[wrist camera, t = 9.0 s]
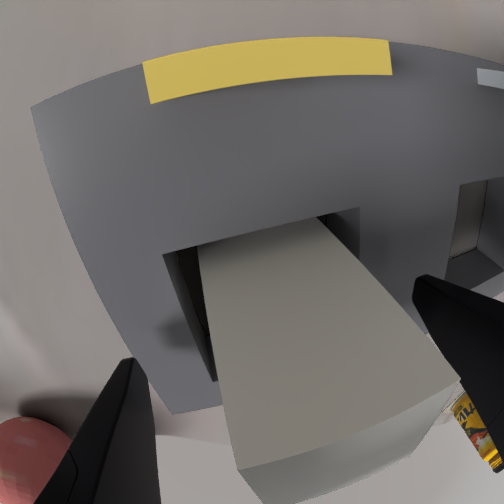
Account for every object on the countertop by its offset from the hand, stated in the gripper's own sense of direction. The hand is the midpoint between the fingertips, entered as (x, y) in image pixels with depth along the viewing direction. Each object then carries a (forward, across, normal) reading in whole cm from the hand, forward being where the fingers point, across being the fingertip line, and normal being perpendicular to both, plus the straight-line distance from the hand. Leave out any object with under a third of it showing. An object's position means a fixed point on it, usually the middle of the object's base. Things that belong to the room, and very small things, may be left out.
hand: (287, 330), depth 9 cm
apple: (+4, +16, +8) cm, 19 cm away
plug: (+4, 0, 0) cm, 4 cm away
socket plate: (+4, -5, -2) cm, 6 cm away
